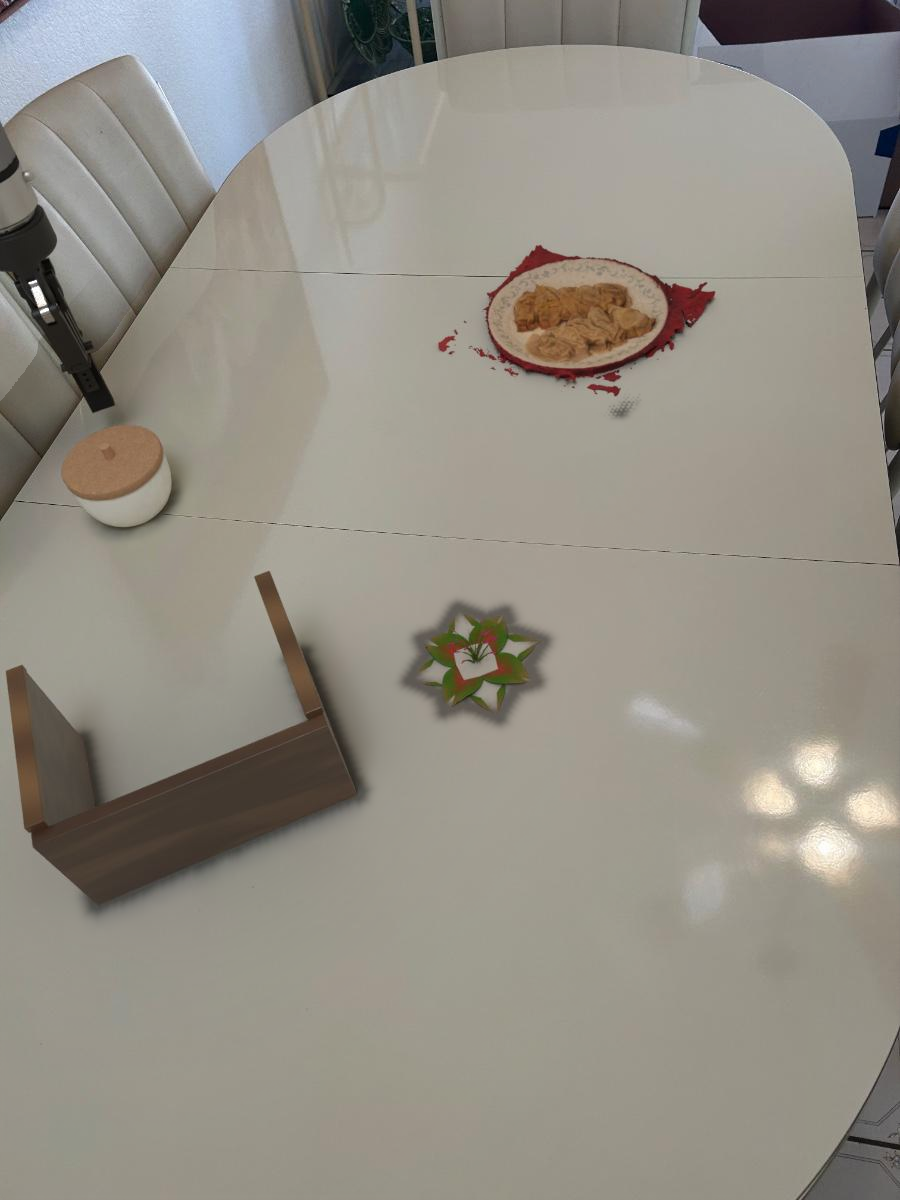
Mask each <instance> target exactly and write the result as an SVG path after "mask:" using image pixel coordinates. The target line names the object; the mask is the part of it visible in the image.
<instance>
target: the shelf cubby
mask: <svg viewBox="0 0 900 1200" xmlns="http://www.w3.org/2000/svg"><path fill="white" fill-rule="evenodd" d="M254 580H255V584H256V587H257V588H258V592H259V594H260V597H261V600H262V602H263V605H264V608H265V610H266V613H267V616H268V619H269V621H270V624H271V627H272V629H273V632H274V635H275V638H276V641H277V643H278V646H279V649H280V651H281V654H282V656H283V660H284V663H285V665H286V667H287V670H288V673H289V676H290V678H291V682H292V684H293V686H294V689H295V693H296V695H297V698H298V700H299V703H300V706H301V708H302V710H303V713H304V716H305V718H306V719H307V720H305V721H302V722H300V723H297V724H294V725H292V726H290V727H288V728H284V729H283V730H280V731H278V732H275V733H273V734H270V735H267V736H266V737H263V738H261V739H260V738H259V739H258V740H255V741H253V742H251V743H248V744H245V745H244V746H243V745H242V746H241V747H239V748H236V749H234V750H231V751H229V752H226V753H224V754H222V755H219V756H216V757H214V758H212V759H208V760H207V761H204V762H202V763H200V764H197V765H195V766H191V767H190V768H188V769H185V770H183V771H179V772H177V773H175V774H172V775H170V776H168V777H165V778H163V779H160V780H158V781H155V782H153V783H151V784H148V785H146V786H143V787H141V788H138V789H136V790H133V791H131V792H128V793H126V794H124V795H121V796H119V797H117V798H114V799H111V800H108V801H107V802H104V803H102V804H98V805H96V801H95V795H94V789H93V784H92V778H91V773H90V766H89V760H88V756H87V750H86V744H85V739H84V738H83V737H82V736H81V735H80V733H79V732H78V731H77V730H76V729H75V727H74V726H73V725H72V724H71V722H70V721H69V720H68V719H67V718H66V717H65V716H64V714H63V713H62V712H61V711H60V710H59V708H58V707H57V706H56V705H55V704H54V703H53V701H52V700H51V699H50V698H49V696H48V695H47V694H46V693H45V692H44V690H42V689H41V687H40V686H39V685H38V683H37V682H36V681H35V680H34V679H33V677H31V675H30V674H29V673H28V670H27V668H26V667H25V666H24V664H20V665H18V666H15V667H12V668H9V669H7V670H5V678H6V684H7V695H8V703H9V712H10V719H11V720H10V721H11V727H12V736H13V745H14V753H15V761H16V762H15V763H16V769H17V778H18V786H19V788H18V789H19V796H20V803H21V804H20V805H21V813H22V821H23V828H24V830H25V831H26V832H27V833H28V834H30V836H31V837H30V838H31V844H32V845H31V847H32V848H33V849H34V850H35V851H36V852H38V854H40V855H41V856H42V857H43V858H44V859H45V860H47V862H48V863H49V864H51V865H52V866H53V867H54V868H55V869H56V870H57V871H59V872H60V873H61V874H62V875H63V876H64V877H65V878H67V879H68V880H69V881H70V882H71V883H72V884H73V885H74V886H75V887H77V888H78V889H79V890H80V891H81V892H82V893H83V894H84V895H86V896H87V898H89V899H90V900H91V901H92V902H93V903H95V905H97V906H100V905H102V904H105V903H107V902H109V901H111V900H115V899H116V898H118V897H121V896H123V895H125V894H129V893H130V892H133V891H135V890H137V889H139V888H142V887H144V886H146V885H149V884H152V883H154V882H156V881H158V880H162V879H163V878H166V877H168V876H170V875H172V874H174V873H177V872H180V871H182V870H184V869H186V868H189V867H191V866H193V865H196V864H198V863H201V862H203V861H205V860H207V859H211V858H213V857H215V856H217V855H219V854H222V853H224V852H226V851H229V850H232V849H234V848H236V847H238V846H240V845H243V844H245V843H248V842H250V841H252V840H255V839H257V838H259V837H262V836H265V835H267V834H269V833H271V832H274V831H276V830H278V829H281V828H282V827H285V826H287V825H291V824H292V823H294V822H297V821H299V820H301V819H304V818H306V817H308V816H311V815H313V814H315V813H319V812H321V811H323V810H326V809H328V808H330V807H333V806H334V805H336V804H340V803H342V802H344V801H347V800H349V799H351V798H353V797H356V796H357V795H358V793H357V790H356V788H355V784H354V782H353V779H352V777H351V774H350V771H349V770H348V766H347V764H346V761H345V759H344V756H343V754H342V751H341V748H340V746H339V743H338V740H337V738H336V735H335V733H334V731H333V728H332V724H331V722H330V719H329V717H328V715H327V712H326V709H325V707H324V704H323V702H322V699H321V697H320V694H319V691H318V689H317V686H316V684H315V681H314V678H313V676H312V673H311V671H310V668H309V665H308V663H307V661H306V658H305V655H304V653H303V651H302V648H301V646H300V643H299V641H298V638H297V635H296V634H295V632H294V631H295V630H294V628H293V626H292V623H291V621H290V619H289V617H288V614H287V611H286V610H285V606H284V603H283V602H282V601H283V600H282V599H281V596H280V593H279V591H278V588H277V586H276V583H275V580H274V577H273V576H272V572H271V571H270V570H267V571H264V572H262V573H259V574H256V575H254Z"/></svg>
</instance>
